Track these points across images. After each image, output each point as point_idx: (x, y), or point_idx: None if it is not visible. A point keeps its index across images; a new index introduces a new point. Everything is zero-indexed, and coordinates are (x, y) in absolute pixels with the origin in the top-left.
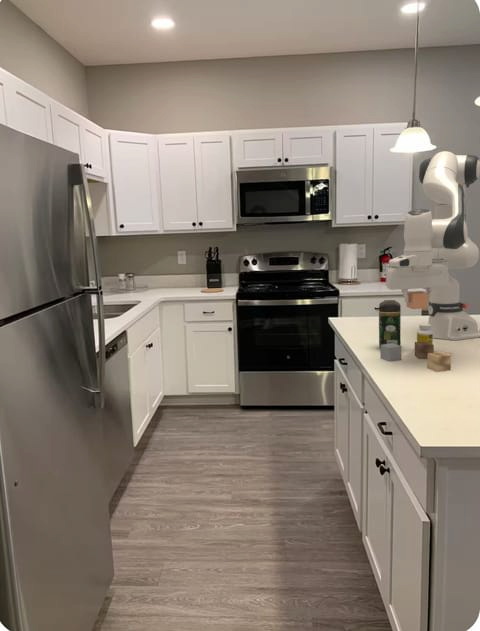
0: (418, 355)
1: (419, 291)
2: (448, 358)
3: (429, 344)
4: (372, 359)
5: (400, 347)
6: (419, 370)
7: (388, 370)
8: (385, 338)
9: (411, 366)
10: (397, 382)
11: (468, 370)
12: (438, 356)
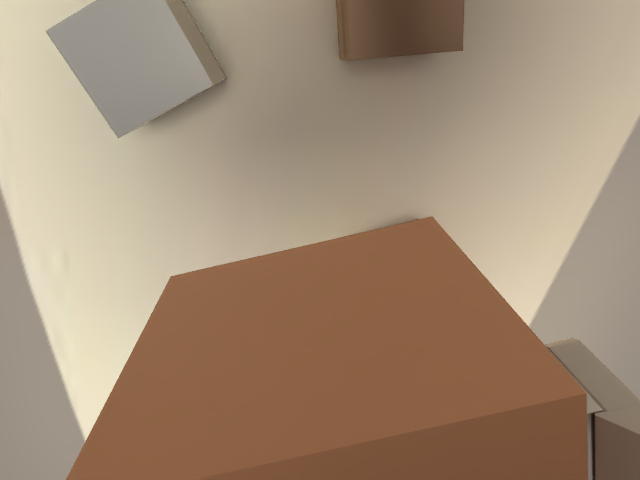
0: (341, 51)
1: (511, 425)
2: None
3: (434, 38)
4: (35, 64)
5: (206, 88)
6: None
7: (137, 295)
8: None
9: (265, 225)
10: None
11: (521, 291)
12: None
